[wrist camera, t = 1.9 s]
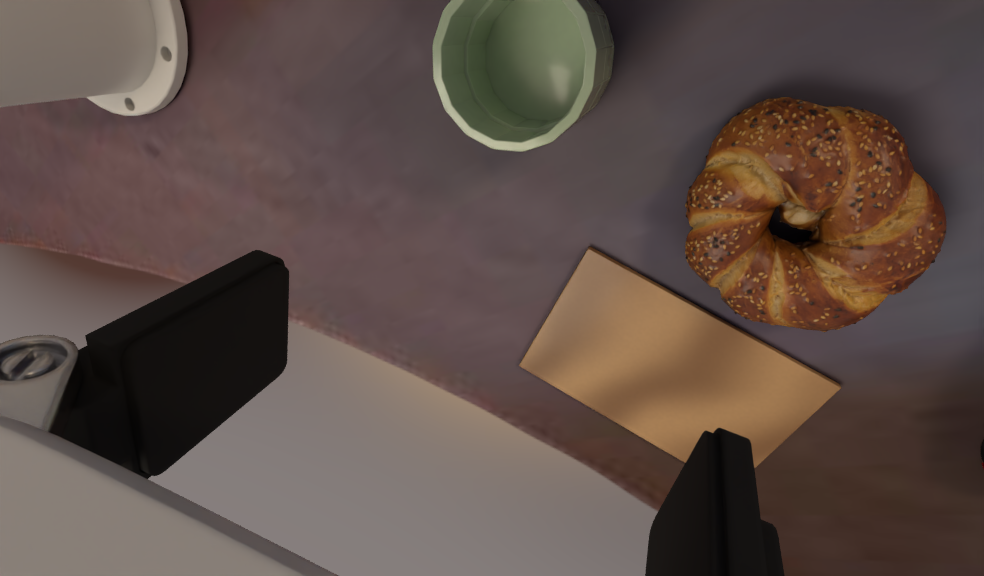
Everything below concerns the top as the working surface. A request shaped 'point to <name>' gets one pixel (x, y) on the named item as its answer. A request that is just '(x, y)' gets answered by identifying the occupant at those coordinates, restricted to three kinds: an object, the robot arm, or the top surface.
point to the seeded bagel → (811, 214)
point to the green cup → (521, 67)
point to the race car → (982, 453)
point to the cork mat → (668, 364)
